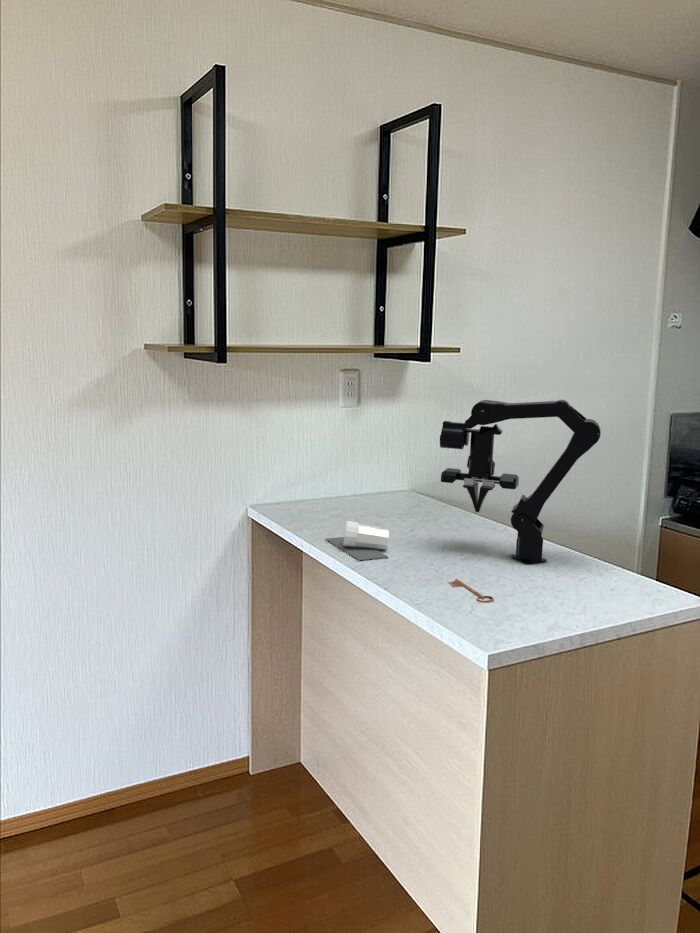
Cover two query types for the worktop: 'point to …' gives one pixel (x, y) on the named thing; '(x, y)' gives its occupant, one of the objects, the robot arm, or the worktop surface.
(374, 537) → the cup
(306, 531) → the worktop surface
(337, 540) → the mat
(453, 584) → the key
